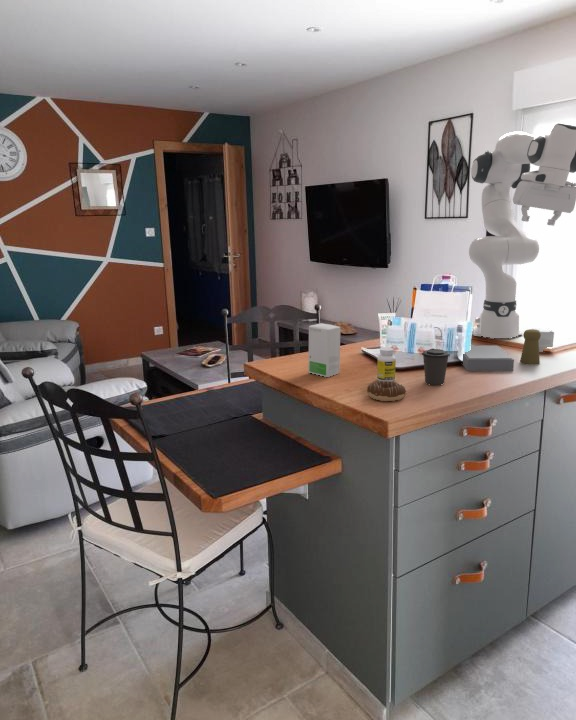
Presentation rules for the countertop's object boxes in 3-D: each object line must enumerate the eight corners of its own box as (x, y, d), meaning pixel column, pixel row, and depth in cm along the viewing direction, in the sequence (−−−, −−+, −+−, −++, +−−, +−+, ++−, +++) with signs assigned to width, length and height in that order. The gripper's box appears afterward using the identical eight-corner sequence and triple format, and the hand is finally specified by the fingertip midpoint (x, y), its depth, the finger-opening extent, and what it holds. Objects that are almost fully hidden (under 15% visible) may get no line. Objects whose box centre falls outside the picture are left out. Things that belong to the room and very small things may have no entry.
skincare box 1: (307, 373, 180) (306, 326, 176) (321, 369, 184) (320, 322, 180) (328, 378, 174) (327, 329, 170) (341, 373, 179) (341, 325, 175)
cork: (536, 360, 187) (539, 327, 184) (542, 365, 181) (545, 331, 178) (517, 360, 188) (520, 328, 185) (523, 365, 182) (525, 331, 179)
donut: (360, 400, 154) (360, 386, 153) (376, 389, 162) (377, 376, 161) (396, 406, 148) (397, 392, 147) (411, 395, 156) (412, 381, 155)
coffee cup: (430, 377, 172) (431, 345, 169) (454, 382, 166) (455, 349, 163) (415, 383, 166) (416, 350, 164) (439, 389, 160) (441, 355, 158)
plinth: (456, 356, 194) (457, 345, 193) (498, 356, 193) (499, 345, 192) (467, 370, 177) (467, 358, 176) (513, 370, 176) (514, 358, 175)
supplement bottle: (384, 383, 167) (384, 351, 164) (373, 379, 171) (373, 348, 169) (398, 380, 169) (399, 349, 167) (387, 376, 174) (388, 345, 171)
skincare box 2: (529, 348, 203) (531, 328, 201) (547, 348, 202) (549, 328, 200) (534, 352, 197) (536, 331, 195) (552, 352, 196) (554, 331, 195)
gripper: (573, 182, 180) (559, 226, 185) (517, 172, 176) (504, 217, 180) (586, 184, 174) (571, 229, 179) (528, 174, 170) (515, 220, 175)
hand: (537, 223), depth 180 cm, fingers open, 8 cm apart
